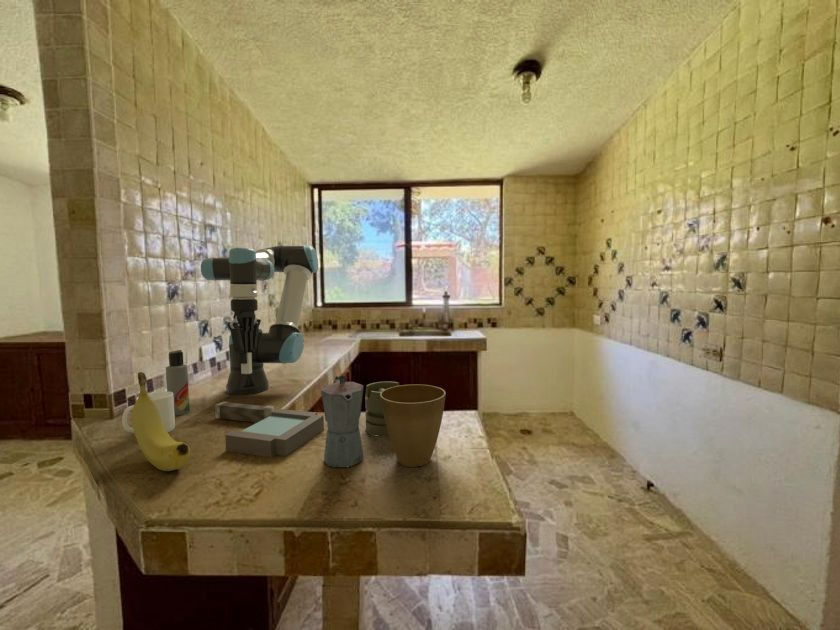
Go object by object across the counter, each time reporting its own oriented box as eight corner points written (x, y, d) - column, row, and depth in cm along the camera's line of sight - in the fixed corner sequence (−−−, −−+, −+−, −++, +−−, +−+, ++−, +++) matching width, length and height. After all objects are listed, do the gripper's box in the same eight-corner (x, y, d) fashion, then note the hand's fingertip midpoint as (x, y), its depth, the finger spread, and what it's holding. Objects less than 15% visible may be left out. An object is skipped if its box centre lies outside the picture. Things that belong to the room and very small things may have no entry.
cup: (181, 429, 104) (179, 394, 103) (130, 445, 94) (128, 406, 93) (166, 423, 108) (164, 389, 107) (116, 438, 98) (113, 401, 97)
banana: (200, 473, 80) (195, 382, 78) (170, 485, 75) (164, 388, 73) (156, 447, 92) (152, 368, 91) (128, 456, 88) (123, 373, 86)
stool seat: (278, 421, 109) (278, 408, 109) (326, 427, 105) (326, 413, 105) (226, 450, 90) (225, 434, 90) (282, 459, 86) (281, 442, 86)
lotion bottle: (193, 411, 118) (189, 350, 117) (173, 417, 113) (170, 353, 112) (184, 408, 121) (180, 348, 120) (165, 413, 116) (161, 351, 115)
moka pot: (330, 479, 77) (328, 385, 75) (314, 450, 91) (312, 370, 89) (373, 468, 81) (372, 379, 80) (352, 442, 95) (351, 365, 93)
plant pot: (437, 443, 94) (437, 382, 93) (452, 473, 79) (452, 400, 78) (379, 448, 91) (378, 385, 90) (383, 479, 77) (382, 404, 76)
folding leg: (277, 420, 110) (276, 405, 109) (269, 424, 107) (268, 409, 106) (224, 414, 115) (223, 400, 115) (215, 418, 112) (214, 403, 112)
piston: (398, 380, 111) (411, 389, 100) (398, 419, 112) (411, 432, 101) (361, 383, 107) (370, 394, 96) (361, 424, 108) (371, 439, 97)
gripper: (240, 299, 108) (243, 378, 109) (267, 298, 120) (269, 369, 122) (218, 299, 109) (221, 377, 111) (247, 297, 122) (249, 368, 124)
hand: (246, 373), depth 116 cm, fingers closed
